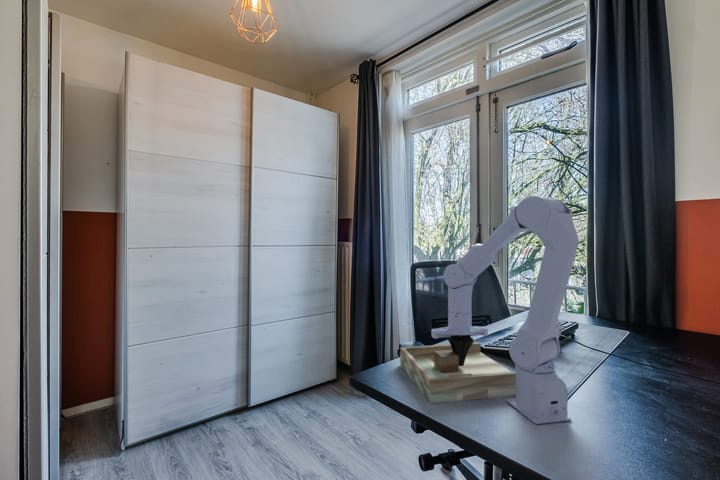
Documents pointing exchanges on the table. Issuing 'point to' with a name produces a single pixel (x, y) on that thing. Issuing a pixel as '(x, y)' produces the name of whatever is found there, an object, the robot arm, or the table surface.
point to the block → (446, 361)
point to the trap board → (457, 375)
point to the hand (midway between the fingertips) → (459, 364)
